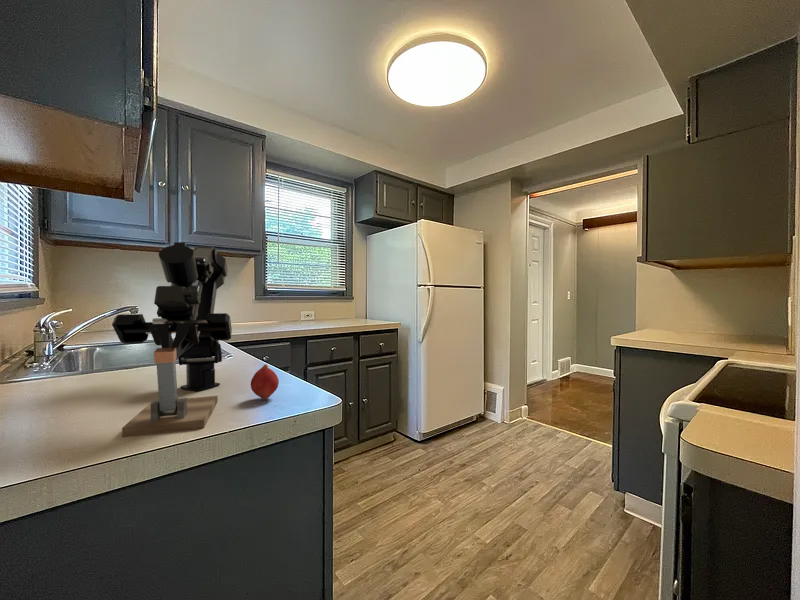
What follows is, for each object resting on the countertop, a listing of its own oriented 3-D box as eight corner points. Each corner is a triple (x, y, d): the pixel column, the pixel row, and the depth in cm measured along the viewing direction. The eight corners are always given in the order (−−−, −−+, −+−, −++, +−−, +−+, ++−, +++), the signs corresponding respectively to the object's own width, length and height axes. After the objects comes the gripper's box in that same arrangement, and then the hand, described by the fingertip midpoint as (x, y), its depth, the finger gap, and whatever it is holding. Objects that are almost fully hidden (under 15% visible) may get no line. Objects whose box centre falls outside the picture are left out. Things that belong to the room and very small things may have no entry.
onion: (245, 402, 76) (245, 365, 76) (261, 394, 82) (261, 360, 82) (268, 404, 75) (268, 367, 75) (283, 396, 80) (283, 362, 80)
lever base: (152, 408, 72) (152, 386, 72) (217, 402, 76) (217, 381, 76) (122, 436, 58) (121, 409, 57) (203, 428, 62) (203, 402, 62)
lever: (162, 412, 63) (157, 348, 60) (180, 411, 64) (176, 347, 61) (158, 418, 61) (153, 352, 59) (177, 417, 62) (172, 351, 60)
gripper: (116, 270, 63) (85, 338, 53) (229, 272, 69) (221, 334, 59) (133, 311, 71) (109, 377, 60) (234, 310, 77) (227, 370, 67)
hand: (167, 364), depth 61 cm, fingers closed, pressing on lever
